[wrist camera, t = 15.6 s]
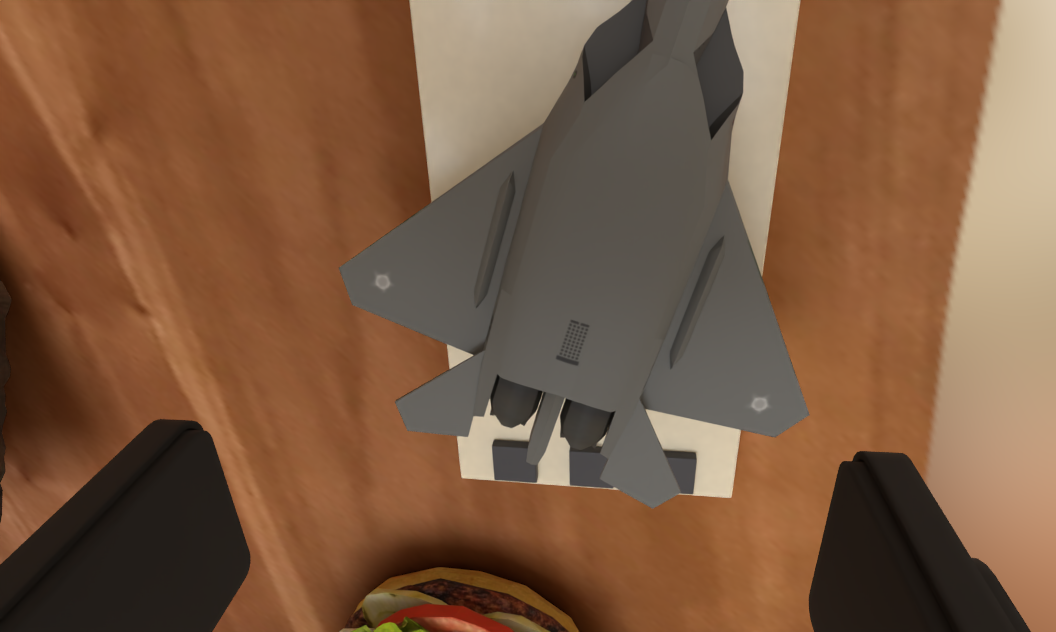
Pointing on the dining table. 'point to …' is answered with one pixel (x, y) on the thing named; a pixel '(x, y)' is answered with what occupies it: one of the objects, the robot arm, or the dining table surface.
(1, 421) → the rock
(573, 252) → the fighter jet
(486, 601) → the food
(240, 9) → the dining table surface
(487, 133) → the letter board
